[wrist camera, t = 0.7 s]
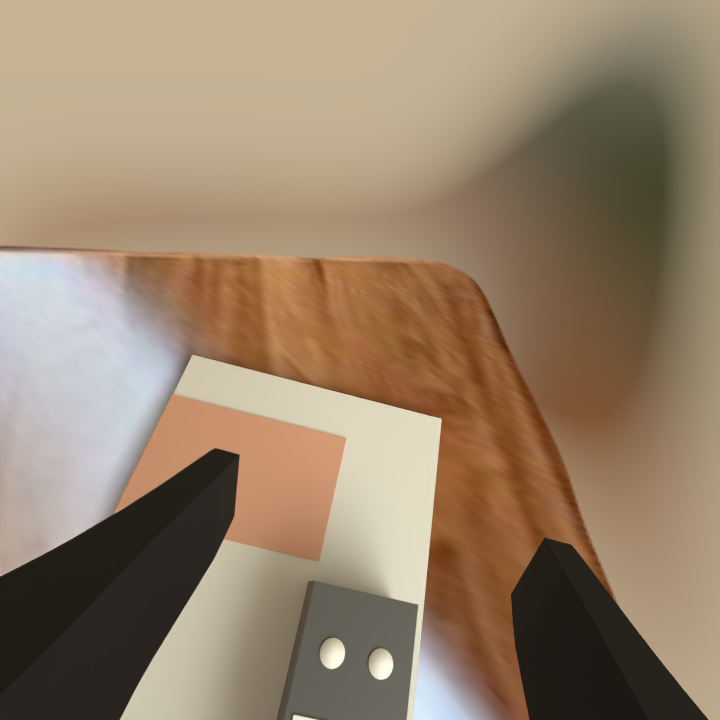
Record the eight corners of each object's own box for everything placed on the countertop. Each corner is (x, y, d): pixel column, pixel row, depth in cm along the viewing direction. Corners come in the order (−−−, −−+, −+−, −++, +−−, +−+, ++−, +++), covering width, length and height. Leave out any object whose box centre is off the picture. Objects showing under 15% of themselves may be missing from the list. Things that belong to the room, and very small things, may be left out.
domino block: (360, 850, 16) (385, 934, 12) (251, 828, 16) (242, 907, 12) (392, 600, 21) (418, 604, 17) (308, 581, 21) (315, 580, 17)
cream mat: (392, 885, 16) (397, 897, 16) (-23, 805, 16) (-36, 815, 15) (438, 421, 27) (442, 417, 27) (194, 359, 26) (192, 353, 26)
